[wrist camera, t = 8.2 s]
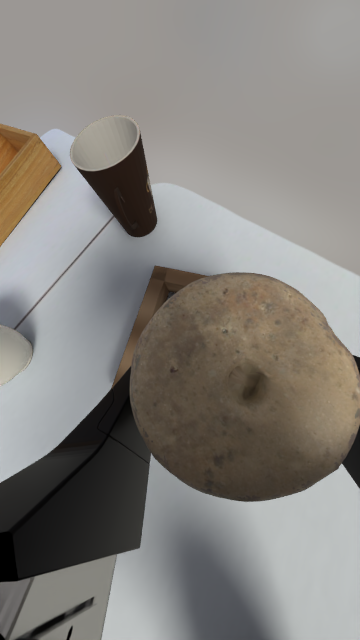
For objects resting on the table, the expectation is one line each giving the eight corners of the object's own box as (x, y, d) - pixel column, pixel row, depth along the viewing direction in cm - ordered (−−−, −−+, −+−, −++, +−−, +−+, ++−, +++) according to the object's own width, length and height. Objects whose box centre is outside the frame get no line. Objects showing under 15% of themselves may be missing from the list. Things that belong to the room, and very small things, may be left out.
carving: (245, 335, 15) (437, 290, 3) (218, 401, 14) (345, 727, 2) (193, 313, 16) (182, 221, 4) (166, 371, 15) (52, 460, 3)
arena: (251, 449, 16) (266, 477, 12) (121, 395, 19) (104, 406, 15) (278, 303, 18) (296, 293, 15) (161, 278, 22) (154, 265, 18)
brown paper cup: (127, 203, 26) (85, 117, 16) (167, 205, 25) (148, 113, 15) (108, 253, 24) (48, 191, 14) (151, 259, 23) (117, 194, 13)
